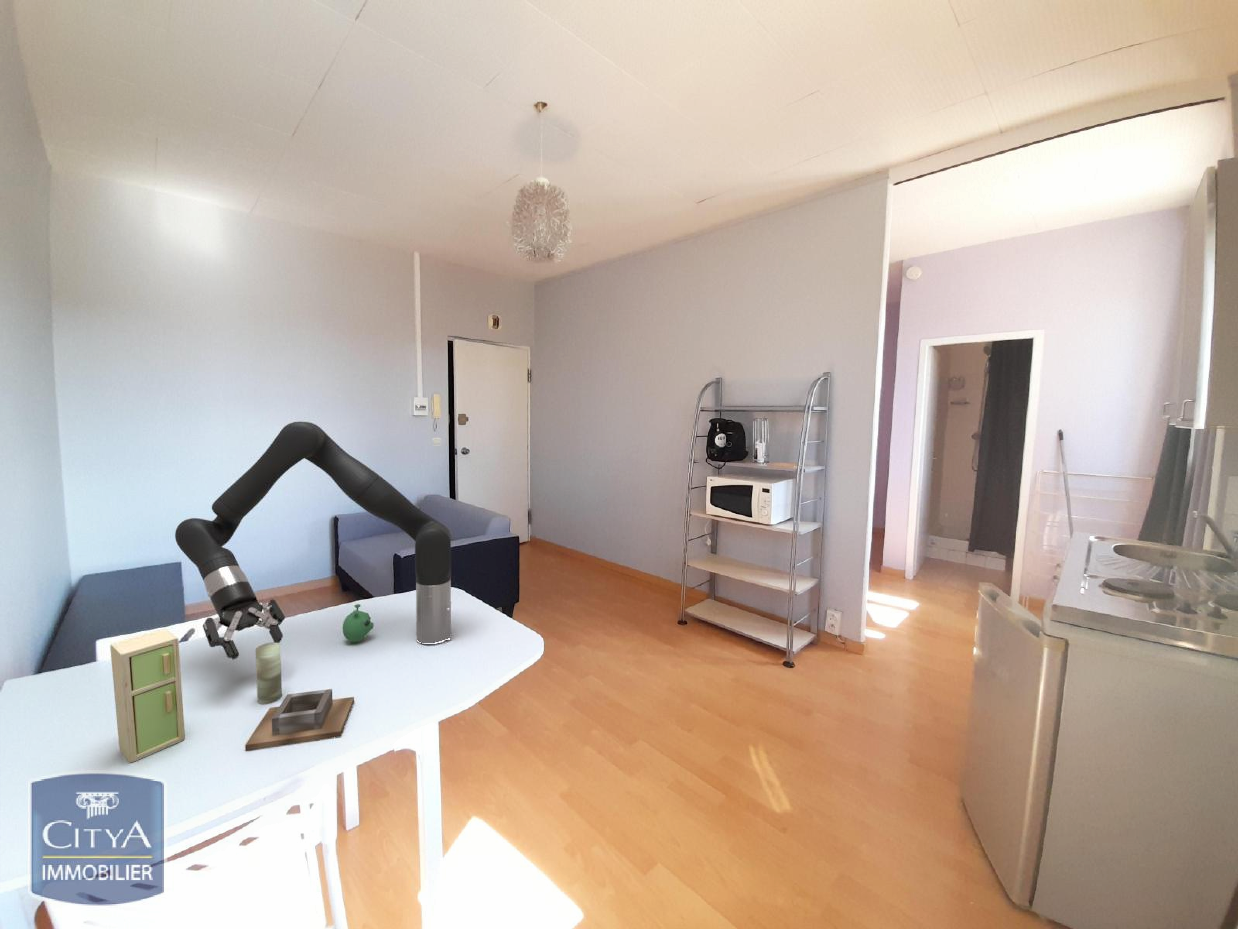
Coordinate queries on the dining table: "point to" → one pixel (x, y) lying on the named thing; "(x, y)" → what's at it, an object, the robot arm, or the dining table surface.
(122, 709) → the toy refrigerator
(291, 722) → the jig
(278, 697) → the pale green cylinder
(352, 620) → the alien toy
